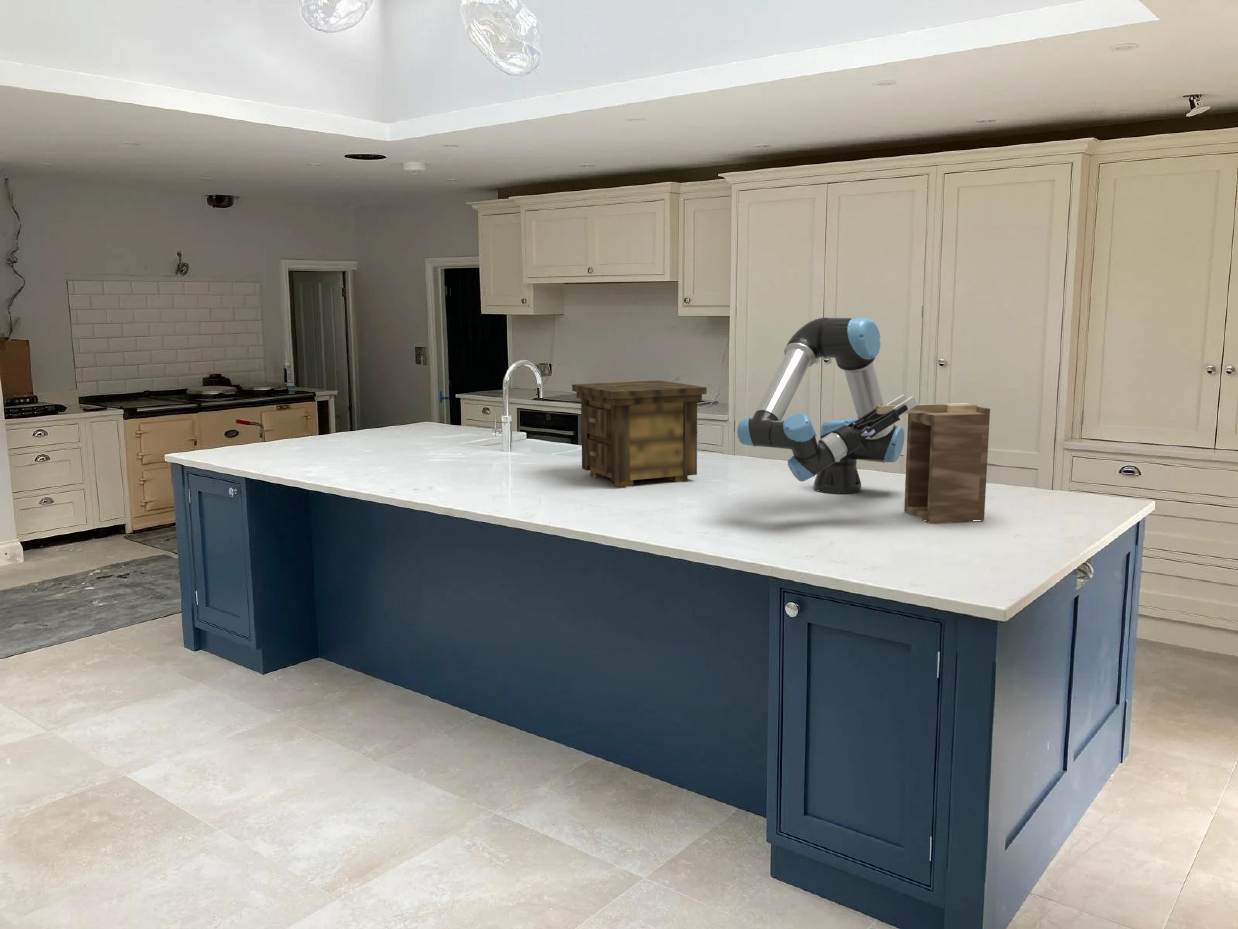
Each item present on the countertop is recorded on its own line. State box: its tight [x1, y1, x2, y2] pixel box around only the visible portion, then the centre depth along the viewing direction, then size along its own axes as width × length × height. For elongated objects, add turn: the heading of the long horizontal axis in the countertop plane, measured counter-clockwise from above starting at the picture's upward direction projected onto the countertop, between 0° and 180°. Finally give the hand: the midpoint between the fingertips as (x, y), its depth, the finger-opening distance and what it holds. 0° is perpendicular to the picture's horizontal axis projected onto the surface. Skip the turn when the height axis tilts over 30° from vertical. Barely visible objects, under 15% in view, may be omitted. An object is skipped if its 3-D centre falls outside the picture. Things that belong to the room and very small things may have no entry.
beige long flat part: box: [876, 402, 978, 415], centre depth 267 cm, size 6×28×2 cm, turn 99°
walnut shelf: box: [903, 405, 991, 524], centre depth 271 cm, size 16×16×32 cm
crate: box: [571, 380, 708, 488], centre depth 336 cm, size 35×35×33 cm
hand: (910, 399), depth 266 cm, fingers open, 5 cm apart
